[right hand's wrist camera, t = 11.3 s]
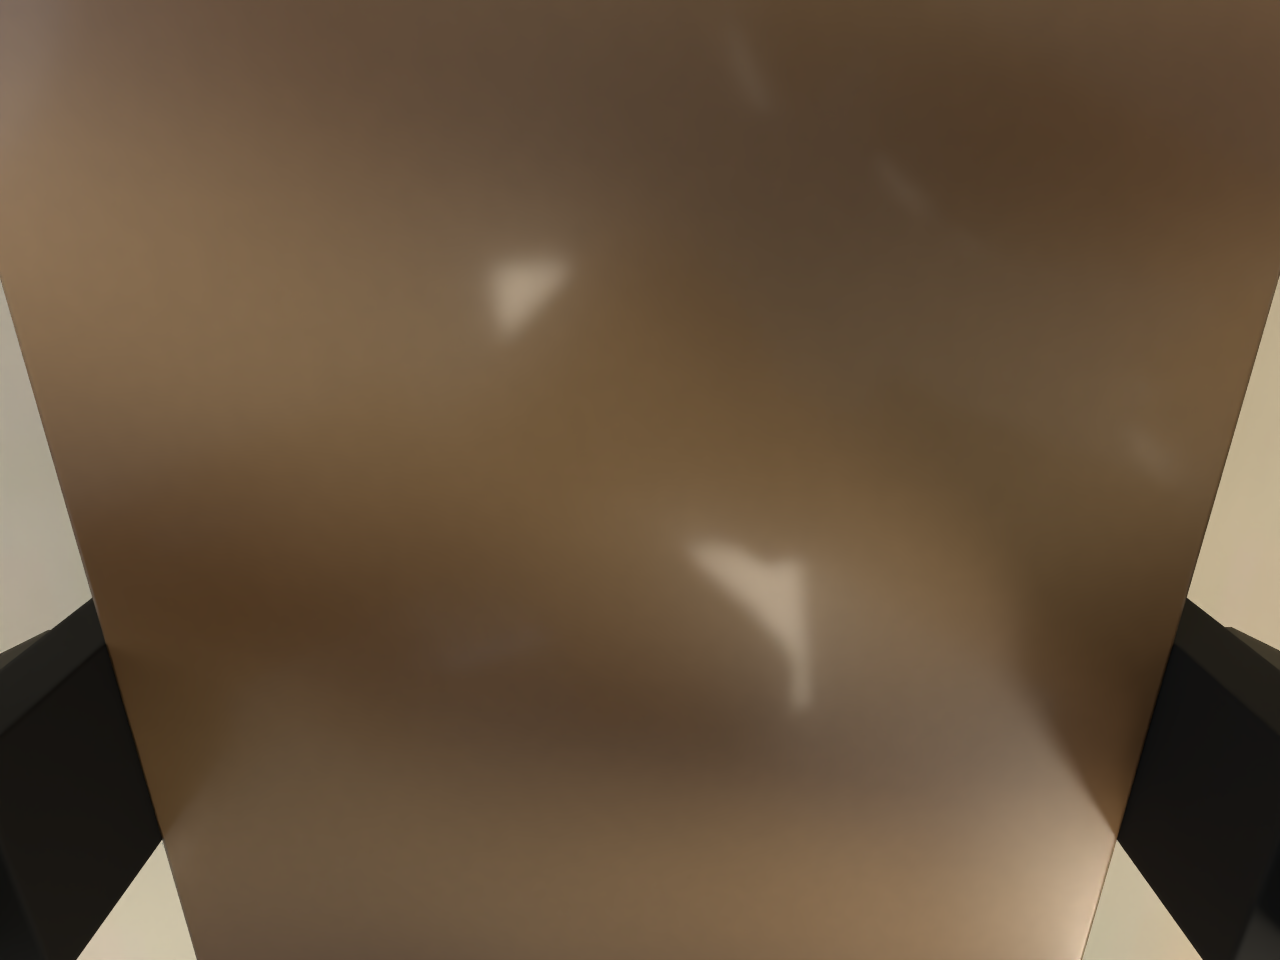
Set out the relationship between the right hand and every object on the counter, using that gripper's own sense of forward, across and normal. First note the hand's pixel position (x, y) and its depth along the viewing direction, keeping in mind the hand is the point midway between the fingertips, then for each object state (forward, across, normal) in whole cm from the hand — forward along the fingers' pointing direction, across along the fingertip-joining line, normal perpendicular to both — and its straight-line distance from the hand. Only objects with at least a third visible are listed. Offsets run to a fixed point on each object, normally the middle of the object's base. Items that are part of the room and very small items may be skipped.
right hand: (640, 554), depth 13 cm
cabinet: (+4, 0, -7) cm, 8 cm away
